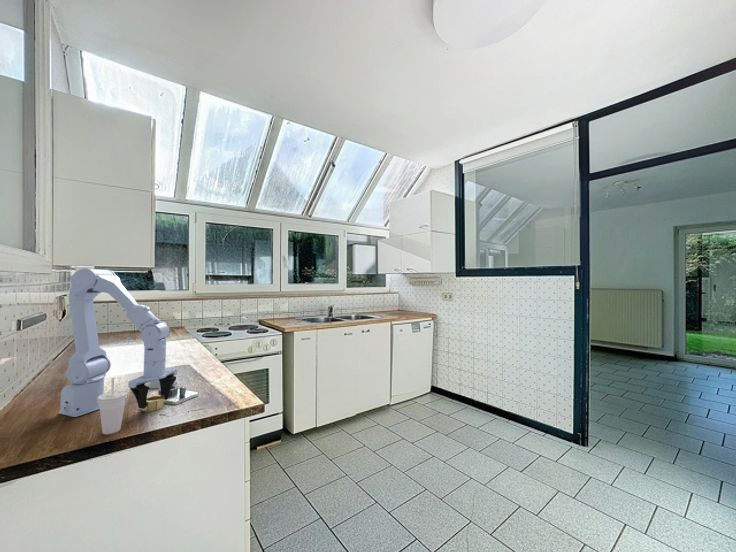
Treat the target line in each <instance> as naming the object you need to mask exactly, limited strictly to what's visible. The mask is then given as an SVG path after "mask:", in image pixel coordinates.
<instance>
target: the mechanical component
mask: <svg viewBox="0 0 736 552" xmlns="http://www.w3.org/2000/svg"><path fill="white" fill-rule="evenodd" d="M173 376H175V375H173ZM177 383H178V378H177V377H176V380H175V382H174V383H173V385H176V384H177ZM146 386H148V387H150V388H149V389H155V390H157V389H159V388H160V382H159V379H158V380H155V381H152V382H149V383H146Z"/></svg>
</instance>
